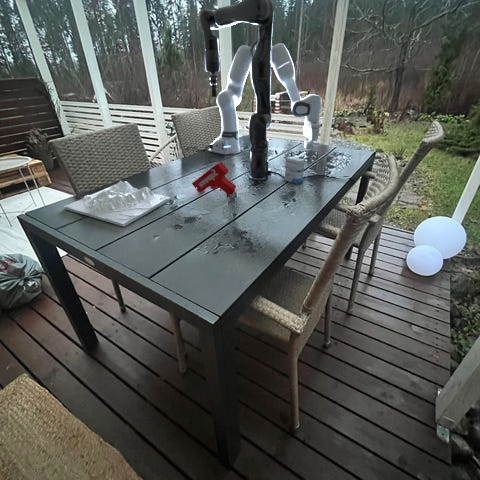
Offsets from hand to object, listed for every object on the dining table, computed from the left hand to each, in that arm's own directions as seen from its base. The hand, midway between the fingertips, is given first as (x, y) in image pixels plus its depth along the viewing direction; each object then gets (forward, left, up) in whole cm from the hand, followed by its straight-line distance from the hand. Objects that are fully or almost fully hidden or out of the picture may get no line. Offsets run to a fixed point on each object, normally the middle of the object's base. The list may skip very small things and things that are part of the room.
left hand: (308, 145), depth 181 cm
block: (0, 0, -2) cm, 2 cm away
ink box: (+4, -53, -7) cm, 53 cm away
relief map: (-59, -112, -7) cm, 127 cm away
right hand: (-46, -43, +31) cm, 71 cm away
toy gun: (-26, -83, -7) cm, 88 cm away
